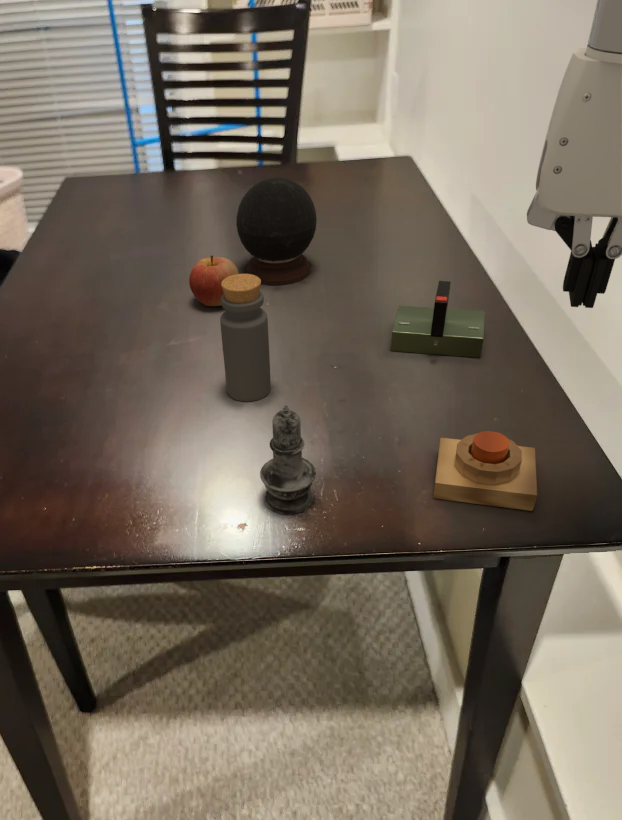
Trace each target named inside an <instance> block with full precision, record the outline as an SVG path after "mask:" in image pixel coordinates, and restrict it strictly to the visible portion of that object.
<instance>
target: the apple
mask: <svg viewBox="0 0 622 820" xmlns="http://www.w3.org/2000/svg"><path fill="white" fill-rule="evenodd" d="M239 272H240V271H239V270H238V267H237V266H236V264H235V263H234V262H233V261H232V260H230V259H229V258H226V257H223V256H214V255H213V254H210V255H209V256H207V257H203V258H200V259H199V260H198V261H196V262H195V264H194V265H193V267H192V269H191V271H190V274H189V278H188V283H189V289H190V291H191V292H192V294H193V296H194V297H195V298H196V299H197V300H198V301H199V303H201V304H203V306H207V307H222V303H221V297H222V295H223V294H224V292H223V289H222V286H221V283H222V281H223V280H224V279H225V278H227V277H229V276H231V275H236V274H240V273H239Z"/></svg>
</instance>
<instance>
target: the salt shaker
mask: <svg viewBox="0 0 622 820" xmlns="http://www.w3.org/2000/svg"><path fill="white" fill-rule="evenodd" d="M301 422H302V421H301V417H300V415H299V414H298V413H297V412H296V411H294V410H291V409H290V407H289V406H288V405H287V404H285V405H284V406H283V407H282V409H281V410H279V411H277V412H276V413H275V415H273V416H272V421H271V424H272V438H271V439H270V441H269V449H270V450H271V451H272V458H271V459H269V460H268V461H266V462H265V463H264V464H263V465H262V467H261V468H260V471H259V477H260V480H261V482H262V483H263V485H264V487H265V488H266V491H265V493H264V497H263V498H264V499H263V500H264V503H265V505H266V507H267V508H268V509H269V510H270V511H272V512H274V513H276V514H280V515H285V516H287V515H297V514H301V513H302V512H304V511H306V510H308V509H309V508H310V507H311V505H312V504H313V501H314V493H313V492H312V490H311V487H312V485H313V482H314V481H315V479H316V476H317V471H316V467H315V466H314V464H313V463H312V462H310V461H309V460H308V459H306V458H304V457H303V449H304V448H305V444H306V443H305V439H304V438H303V437H302V427H301V425H302V423H301Z"/></svg>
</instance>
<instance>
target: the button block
mask: <svg viewBox="0 0 622 820" xmlns="http://www.w3.org/2000/svg"><path fill="white" fill-rule="evenodd" d="M478 433H479V432H477V433H473V434H467V435H466V436H464V437H463V438H462V439H459V438H458V439H457V438H449V437H440V438H439V445H438V450H437V459H436V467H435V476H434V485H433V491H432V492H433V494H432V499H435V500H443V501H451V502H460V503H468V504H475V505H483V506H490V507H499V508H504V509H505V508H506V509H512V510H513V509H514V510H521V511H530V512H533V511H534V507H535V505H536V501H537V499H538V498H537V497H538V484H537V481H538V480H537V464H536V463H537V462H536V447H531V446H522V445H517V443H515V441H514V440H512V439H510V438H508V440H509V443H510V444H509V449H508V453H507V457H506V459H505V461H504V462H502V463H498V464H488V463H482V462H480V461H478V460H476V459H474V458H473V457H472V455H471V448H472V443H473V438H474V436H475V435H476V434H478Z"/></svg>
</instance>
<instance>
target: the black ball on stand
mask: <svg viewBox="0 0 622 820" xmlns="http://www.w3.org/2000/svg"><path fill="white" fill-rule="evenodd" d="M237 208H238V209H237V212H236V229H237V230H236V231H237V235H238V238H239V239H240V242H241V244H242V246H243V247H244V249H245V250H246V251H247V253H249V254H250V255H251V256H252V257H251V258H250V259H249V261H248V263H247V264H246V266H245V274H252V275H255V276H257V277H259V278H260V280H261V285H265V286H283V285H284V286H285V285H289V284H294V283H297V282H300V281H302V280H304V279H306V278H307V277H308V276H309V275H310V274H311V268H312V267H311V262H310V261H309V260H308V259H307V256H305V255H304V253H305V252H306V250H307V249H308V247H309V246H310V245H311V242H312V241H313V239H314V237H315V233H316V230H317V221H318V220H317V210H316V207H315V204H314V201H313V199H312V197H311V196H310V194H309V192H307V191H306V189H305V188H304V187H303V186H301V185H300V184H299V183H297V182H296V181H294V180H292V179H289V178H285V177H269V178H263V180H260V181H258V182H257V183H255V184H254V185H252V186H251V187H249V189H248V191H246V193H245V194H244V195H243V197H242V198H241V201H240V203H239V205H238V207H237Z"/></svg>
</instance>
